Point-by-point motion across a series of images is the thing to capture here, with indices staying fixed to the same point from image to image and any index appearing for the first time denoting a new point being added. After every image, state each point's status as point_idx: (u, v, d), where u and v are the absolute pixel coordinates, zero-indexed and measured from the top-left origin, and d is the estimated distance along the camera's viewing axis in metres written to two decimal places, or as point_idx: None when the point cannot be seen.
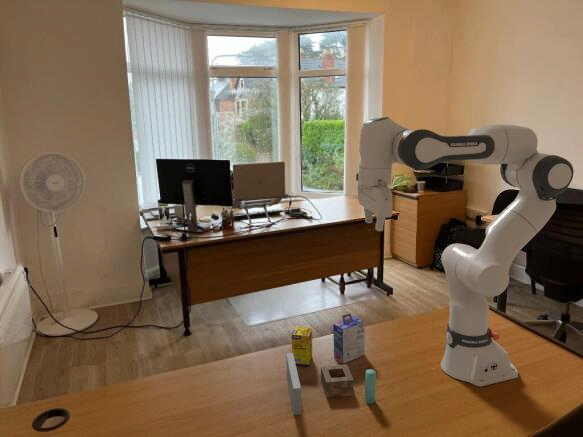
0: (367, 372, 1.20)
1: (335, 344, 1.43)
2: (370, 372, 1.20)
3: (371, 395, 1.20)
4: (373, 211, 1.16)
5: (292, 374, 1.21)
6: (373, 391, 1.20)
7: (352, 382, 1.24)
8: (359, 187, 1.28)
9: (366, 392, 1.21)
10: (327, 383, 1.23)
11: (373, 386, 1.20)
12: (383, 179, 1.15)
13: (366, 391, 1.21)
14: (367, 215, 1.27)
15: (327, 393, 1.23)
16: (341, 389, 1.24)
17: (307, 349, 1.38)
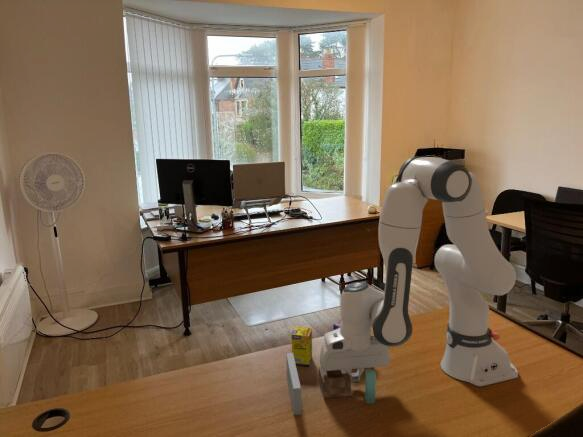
0: (367, 372, 1.20)
1: None
2: (370, 372, 1.20)
3: (371, 395, 1.20)
4: (373, 365, 1.26)
5: (292, 374, 1.21)
6: (373, 391, 1.20)
7: (350, 382, 1.23)
8: (330, 355, 1.23)
9: (366, 392, 1.21)
10: (324, 383, 1.23)
11: (373, 386, 1.20)
12: None
13: (366, 391, 1.21)
14: (351, 374, 1.27)
15: (324, 393, 1.23)
16: (339, 389, 1.24)
17: (307, 349, 1.38)
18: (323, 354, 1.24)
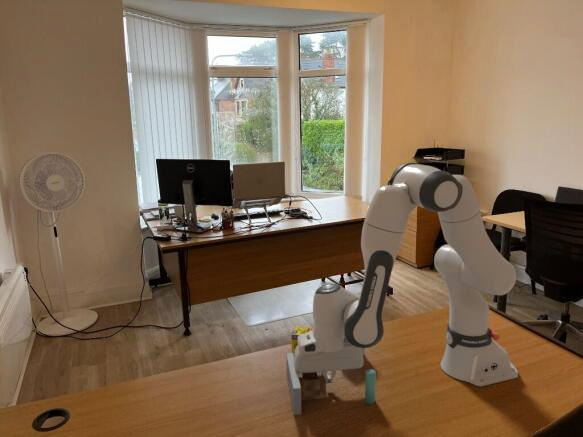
0: (367, 372, 1.20)
1: None
2: (370, 372, 1.20)
3: (371, 395, 1.20)
4: (346, 367, 1.25)
5: (292, 374, 1.21)
6: (373, 391, 1.20)
7: (324, 384, 1.23)
8: (302, 357, 1.22)
9: (366, 392, 1.21)
10: None
11: (373, 386, 1.20)
12: None
13: (366, 391, 1.21)
14: (327, 376, 1.26)
15: None
16: (314, 391, 1.23)
17: None
18: (296, 356, 1.23)
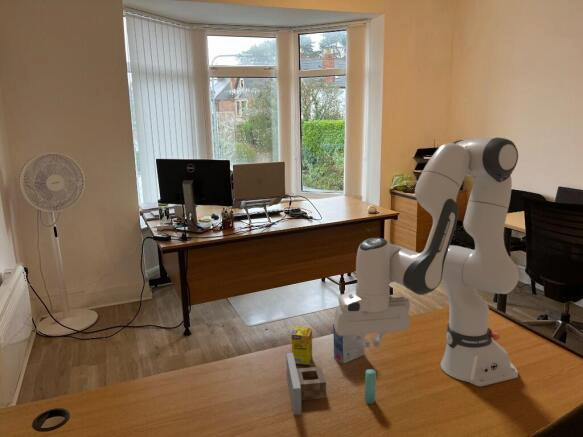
0: (367, 372, 1.20)
1: (335, 344, 1.43)
2: (370, 372, 1.20)
3: (371, 395, 1.20)
4: (391, 329, 1.16)
5: (292, 374, 1.21)
6: (373, 391, 1.20)
7: (324, 384, 1.23)
8: (345, 317, 1.13)
9: (366, 392, 1.21)
10: None
11: (373, 386, 1.20)
12: None
13: (366, 391, 1.21)
14: (365, 340, 1.17)
15: None
16: (314, 391, 1.23)
17: (307, 349, 1.38)
18: (338, 317, 1.14)
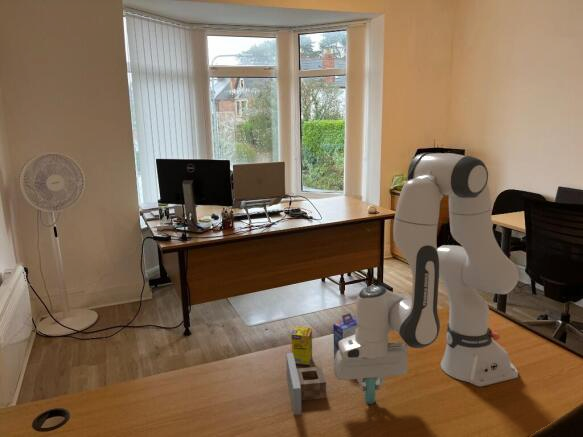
0: None
1: (335, 344, 1.43)
2: None
3: (371, 395, 1.20)
4: (390, 374, 1.19)
5: (292, 374, 1.21)
6: (373, 391, 1.20)
7: (324, 384, 1.23)
8: (345, 363, 1.16)
9: (366, 392, 1.21)
10: None
11: (373, 386, 1.20)
12: None
13: (366, 391, 1.21)
14: (362, 384, 1.20)
15: None
16: (314, 391, 1.23)
17: (307, 349, 1.38)
18: (338, 362, 1.17)
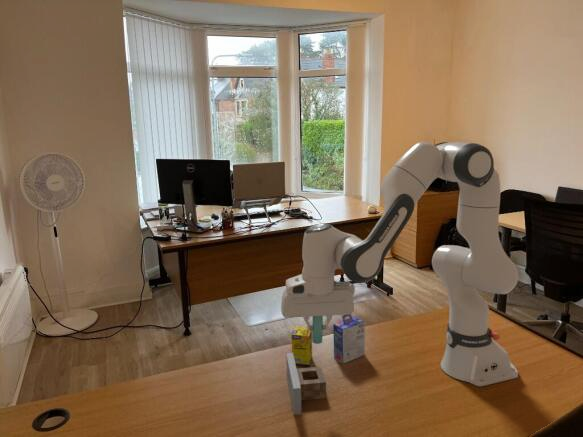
0: None
1: (335, 344, 1.43)
2: None
3: (317, 335, 1.20)
4: (336, 313, 1.19)
5: (292, 374, 1.21)
6: (320, 331, 1.20)
7: (324, 384, 1.23)
8: (290, 300, 1.16)
9: (313, 332, 1.21)
10: None
11: (320, 325, 1.20)
12: None
13: (313, 331, 1.21)
14: (309, 323, 1.20)
15: None
16: (314, 391, 1.23)
17: (307, 349, 1.38)
18: (283, 299, 1.17)
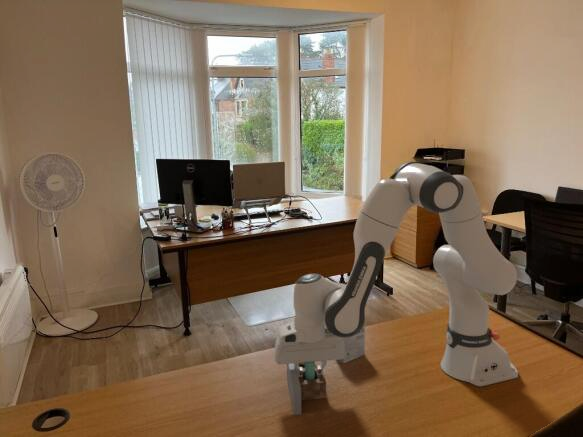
0: None
1: None
2: None
3: None
4: (328, 358, 1.23)
5: (292, 374, 1.21)
6: (312, 378, 1.25)
7: (324, 384, 1.23)
8: (283, 348, 1.21)
9: (306, 379, 1.25)
10: None
11: (312, 373, 1.24)
12: None
13: (306, 378, 1.25)
14: (299, 368, 1.25)
15: None
16: (314, 391, 1.23)
17: None
18: (276, 347, 1.21)
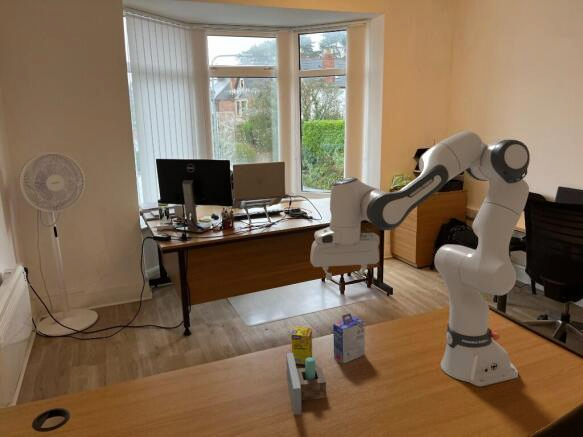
0: (307, 360, 1.25)
1: (335, 344, 1.43)
2: (310, 360, 1.25)
3: None
4: (362, 262, 1.27)
5: (292, 374, 1.21)
6: (312, 378, 1.25)
7: (324, 384, 1.23)
8: (319, 249, 1.24)
9: (306, 379, 1.25)
10: None
11: (312, 373, 1.24)
12: None
13: (306, 378, 1.25)
14: (328, 273, 1.28)
15: None
16: (314, 391, 1.23)
17: (307, 349, 1.38)
18: (313, 249, 1.25)
